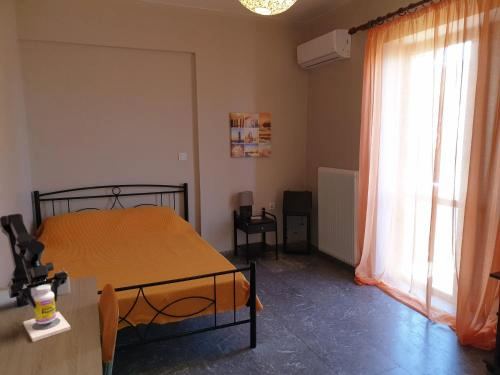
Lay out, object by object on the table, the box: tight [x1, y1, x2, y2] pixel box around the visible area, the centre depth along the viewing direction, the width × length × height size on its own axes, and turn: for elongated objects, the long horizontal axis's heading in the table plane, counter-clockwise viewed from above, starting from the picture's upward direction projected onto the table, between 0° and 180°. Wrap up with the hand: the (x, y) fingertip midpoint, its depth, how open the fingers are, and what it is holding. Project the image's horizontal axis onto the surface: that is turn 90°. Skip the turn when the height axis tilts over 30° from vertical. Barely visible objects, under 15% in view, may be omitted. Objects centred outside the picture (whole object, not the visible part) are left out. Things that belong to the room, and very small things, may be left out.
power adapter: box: [57, 267, 71, 296], centre depth 163 cm, size 3×5×12 cm, turn 125°
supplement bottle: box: [32, 284, 57, 324], centre depth 133 cm, size 7×7×13 cm
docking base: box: [23, 311, 72, 343], centre depth 134 cm, size 16×12×1 cm
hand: (45, 304), depth 132 cm, fingers closed on supplement bottle, 7 cm apart
